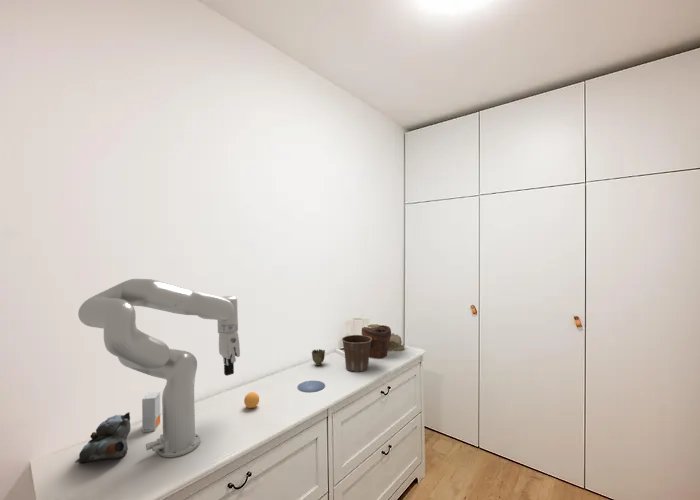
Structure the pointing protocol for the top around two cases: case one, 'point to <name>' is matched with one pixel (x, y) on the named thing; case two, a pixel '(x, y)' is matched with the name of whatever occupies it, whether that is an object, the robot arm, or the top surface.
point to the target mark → (311, 386)
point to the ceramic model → (395, 343)
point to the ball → (251, 400)
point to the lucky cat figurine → (107, 440)
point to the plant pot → (356, 352)
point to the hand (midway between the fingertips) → (229, 374)
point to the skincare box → (150, 412)
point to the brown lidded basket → (378, 340)
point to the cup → (318, 356)
